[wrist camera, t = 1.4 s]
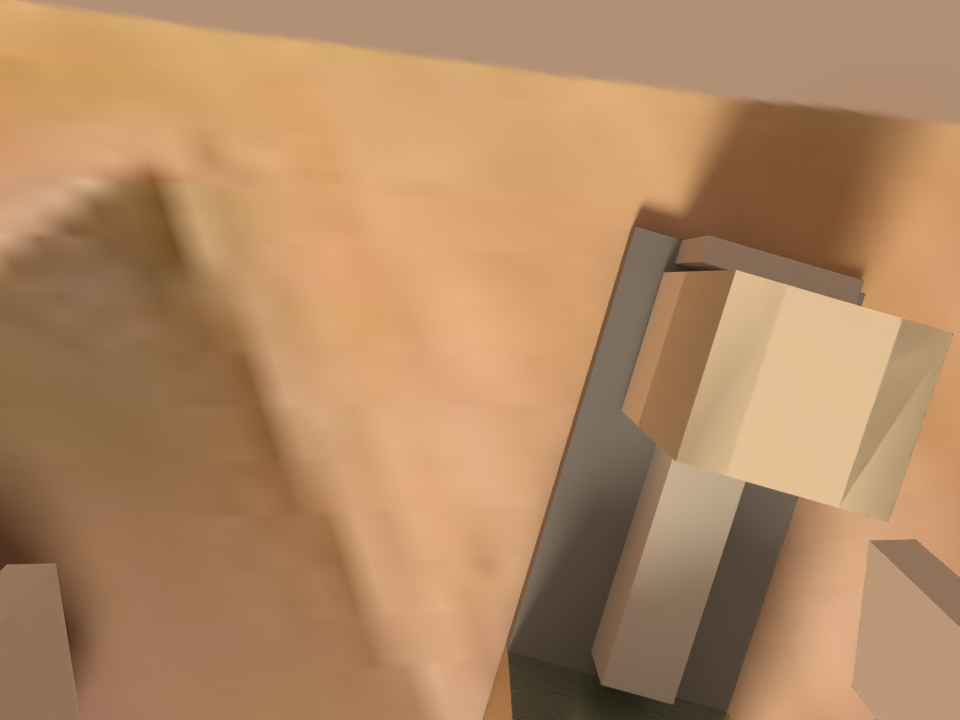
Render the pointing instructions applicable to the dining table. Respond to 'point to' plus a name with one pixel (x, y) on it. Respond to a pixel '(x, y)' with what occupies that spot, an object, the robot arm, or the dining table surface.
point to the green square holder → (575, 696)
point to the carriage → (784, 387)
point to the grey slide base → (654, 514)
